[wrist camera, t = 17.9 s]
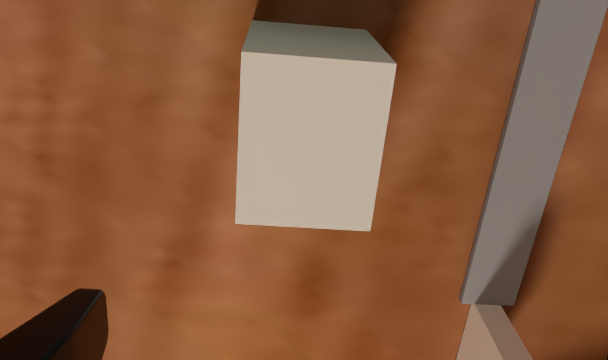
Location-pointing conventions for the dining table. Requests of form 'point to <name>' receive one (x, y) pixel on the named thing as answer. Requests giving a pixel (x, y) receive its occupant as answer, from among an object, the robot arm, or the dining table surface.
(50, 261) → the dining table surface
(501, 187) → the door frame
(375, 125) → the block
